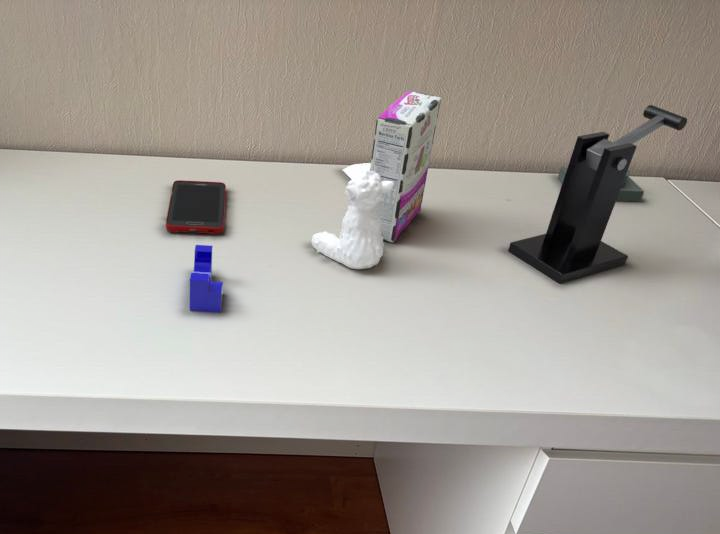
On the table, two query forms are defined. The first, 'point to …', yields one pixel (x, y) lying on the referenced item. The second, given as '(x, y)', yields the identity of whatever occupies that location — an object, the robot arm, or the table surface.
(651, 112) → the lever
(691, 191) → the table surface
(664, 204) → the table surface
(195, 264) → the cable holder
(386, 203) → the candy bar box
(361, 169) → the white flat piece
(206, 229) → the cell phone
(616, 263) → the bracket
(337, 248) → the sitting furry creature
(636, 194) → the housing
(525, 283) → the table surface
